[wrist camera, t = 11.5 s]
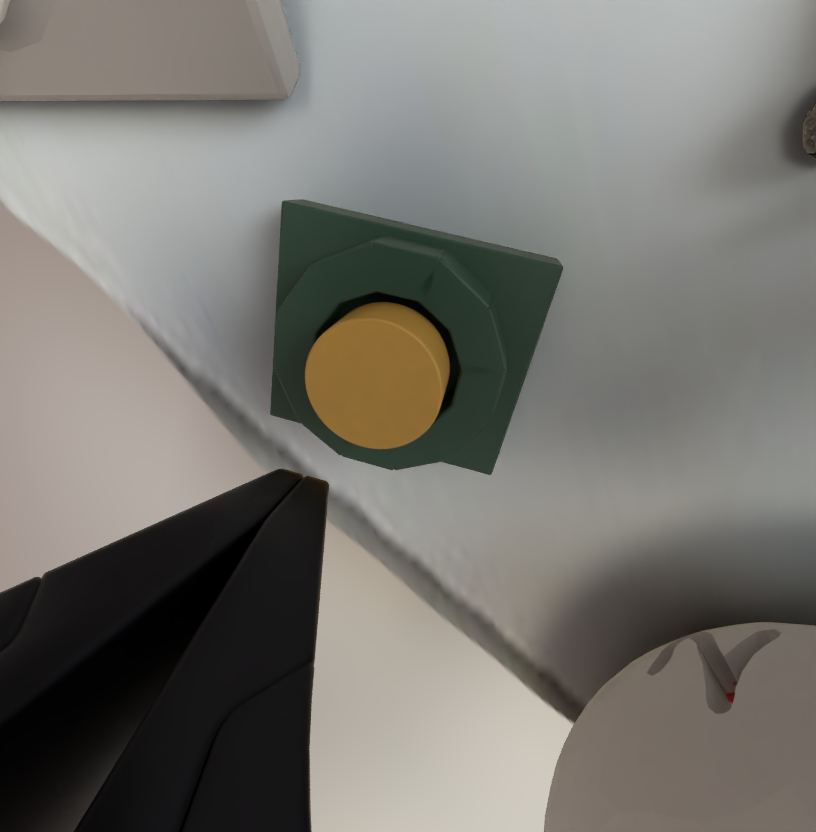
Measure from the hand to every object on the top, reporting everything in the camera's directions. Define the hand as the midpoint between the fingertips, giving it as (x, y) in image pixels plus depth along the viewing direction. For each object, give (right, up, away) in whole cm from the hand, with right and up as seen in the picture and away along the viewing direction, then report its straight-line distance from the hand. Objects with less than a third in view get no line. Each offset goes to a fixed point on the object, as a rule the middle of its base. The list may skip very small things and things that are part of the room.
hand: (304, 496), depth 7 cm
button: (+1, +3, +6) cm, 6 cm away
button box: (+2, +4, +8) cm, 9 cm away
